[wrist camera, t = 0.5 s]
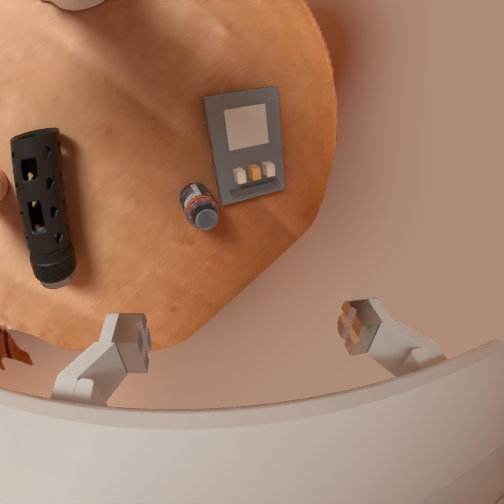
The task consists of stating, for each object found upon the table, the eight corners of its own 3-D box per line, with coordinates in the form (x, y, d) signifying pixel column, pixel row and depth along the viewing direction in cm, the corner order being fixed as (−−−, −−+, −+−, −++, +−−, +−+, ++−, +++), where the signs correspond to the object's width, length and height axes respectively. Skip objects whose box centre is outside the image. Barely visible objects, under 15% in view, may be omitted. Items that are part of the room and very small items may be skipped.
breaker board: (202, 97, 47) (208, 98, 43) (273, 86, 50) (283, 87, 46) (219, 202, 60) (226, 211, 56) (281, 185, 63) (290, 193, 60)
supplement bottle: (213, 196, 59) (231, 221, 50) (190, 214, 59) (203, 242, 50) (197, 175, 55) (211, 197, 46) (173, 194, 55) (182, 219, 46)
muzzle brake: (67, 124, 39) (52, 134, 32) (81, 258, 54) (76, 289, 46) (21, 131, 36) (0, 144, 28) (42, 262, 50) (32, 293, 42)
